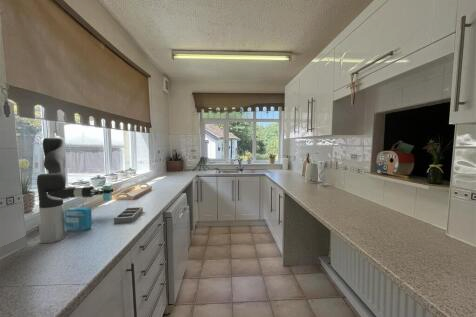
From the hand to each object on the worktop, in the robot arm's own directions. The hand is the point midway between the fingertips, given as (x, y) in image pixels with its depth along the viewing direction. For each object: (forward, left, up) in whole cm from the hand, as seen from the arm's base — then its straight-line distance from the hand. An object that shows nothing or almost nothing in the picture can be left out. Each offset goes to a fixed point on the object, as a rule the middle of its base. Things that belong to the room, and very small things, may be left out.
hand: (111, 191), depth 150 cm
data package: (-25, +8, -17) cm, 31 cm away
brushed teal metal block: (0, +3, -6) cm, 7 cm away
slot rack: (-7, -13, -16) cm, 22 cm away
